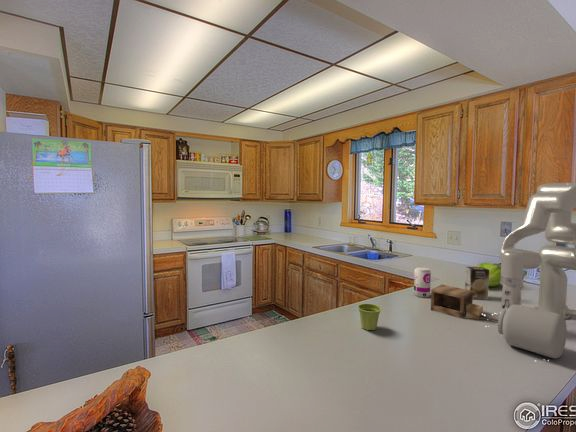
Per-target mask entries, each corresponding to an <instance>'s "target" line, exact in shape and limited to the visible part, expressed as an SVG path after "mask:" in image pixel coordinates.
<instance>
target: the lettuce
mask: <svg viewBox="0 0 576 432" xmlns="http://www.w3.org/2000/svg"><path fill="white" fill-rule="evenodd" d="M475 267H483V268H486V269H488V270H489V284H488V288H489V287H496V286H498V285H499V284H500V278H501V266H499V265H497V264H495V263H491V262H482V263H479V264H478V265H477V266H475Z"/></svg>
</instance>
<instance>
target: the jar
mask: <svg viewBox="0 0 576 432" xmlns="http://www.w3.org/2000/svg"><path fill="white" fill-rule="evenodd" d="M534 308H535V307H529V306H524V305H522V304H521V305H516V304H514V305H511V306H510V307H509V308H508V309H507V310H504V309H503V308H502V309H501V310H500V312H499V315H498V319H497V320H498V322H497V331H498V333H499V334H500V335H502V337H503V339H504V341H505V342H506V344H508V345H510V346H512V347H515V348H518V349H520V350H521V349H522V350H524V351H528V352H531V353H535V354H537V355H541V356H543V357H548V358H550V359H551V358H552V359H555V360H556V359H559V358H560V357H561V356H562V355H563V353H564V351H565V347H566V344H567V343H566V341H567V329H568V328H567V321H566V319H564V318H563V316H561V315H560V314H557V313H552V312H548V311H543V310H539V309H534ZM495 314H496V312H494V314H493V313H492V314H491V315H492V316H494V315H495ZM482 316H486V314H484V313H482ZM486 317H487V316H486ZM486 320H487V321H489V319H486ZM487 327H490V326H489V325H488V326H487V325H485V328H487ZM550 359H548V360H547V362H549V360H550ZM543 361H546V360H545V359H543ZM534 362H537V360H534Z"/></svg>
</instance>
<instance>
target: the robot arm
mask: <svg viewBox="0 0 576 432" xmlns="http://www.w3.org/2000/svg"><path fill="white" fill-rule="evenodd" d="M575 208H576V182H548V183H543V184H540V185H538V186H537V188H536V193H534V194H531V196H530V197H529V199H528V201H527V204H526V208H525V211H524V215H523V217H522V221H521V224H520V225H519V226H517V227H516V228H515V229H512V231H511V232H510V233H509V234H508V235H507V236H506V237H505V238H504V240H503V243H502V245H501V249H500V251H499V254H500V255H499V259H500V261H501V262H500V268H501V278H500V283H499V284H501V285H502V290H501V303H500V304H501V309H502V310H503V309H504V310H507V309H508V308H509V307H510V306H511V305H514V304H516V305H521V306H522V297H521V296H522V287H523V284H524V269H525V270H535V269H538V268H540V269H539V271H540V272H539V289H538V290H539V291H538V292H539V293H538V306H536V307H533V308H534V309H539V310H543V311H548V312H552V313H557V314H560V315H561V316H563V318H564V319H565V320H567V319H570V318H571V315H573V316H576V309H571V308H569V307H568V305H567V293H568V276H567V273H566V272H565V270H571V271H572V270H573V271H576V222H572V211H573V210H574V209H575ZM543 233H544V237H545V239H546V240H547V241H548V242H550V243H557V244H565V245H573V247H571V246H570V247H569V246H562V245H561V246H560V245H553V244H551V245H544V246H542V247H541V248H539V250H538V252H536V251H535V250H534V251H533V250H527V249H521V248H520V249H519V248H515V247H516V245H517V243H519V242H520V241H521V240H523V239H525V238H527V237H531V236H535V235H537V234H543ZM564 269H565V270H564Z"/></svg>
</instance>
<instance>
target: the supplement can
mask: <svg viewBox="0 0 576 432" xmlns="http://www.w3.org/2000/svg"><path fill="white" fill-rule="evenodd" d="M413 275H414V276H413V278H414V279H413V295H415V297H418V298H422V299H423V298H425V299H426V298H429V297H431V284H432V283H431V280H432V279H431V278H432V277H431V275H432V272H431V269H430V268H428V267H424V266H423V267H422V266H416V267H415V269H414V272H413Z"/></svg>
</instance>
